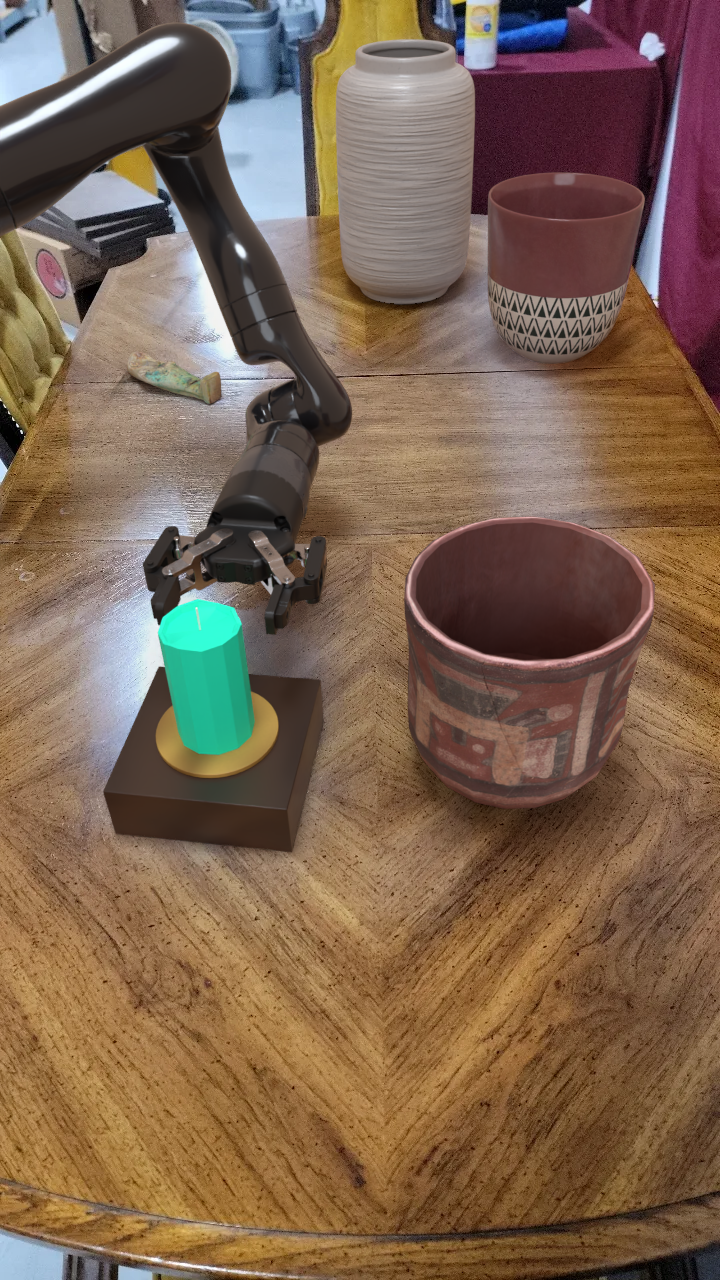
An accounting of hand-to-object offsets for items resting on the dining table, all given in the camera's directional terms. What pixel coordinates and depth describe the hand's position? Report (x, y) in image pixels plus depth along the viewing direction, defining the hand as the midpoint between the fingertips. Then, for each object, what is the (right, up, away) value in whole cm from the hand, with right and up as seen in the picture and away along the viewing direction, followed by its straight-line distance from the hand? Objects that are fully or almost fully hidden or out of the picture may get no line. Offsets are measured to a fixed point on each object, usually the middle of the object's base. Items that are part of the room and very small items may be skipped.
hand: (215, 621), depth 75 cm
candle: (0, -8, +3) cm, 9 cm away
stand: (0, -12, +6) cm, 14 cm away
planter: (+37, +39, +64) cm, 84 cm away
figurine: (-14, +33, +60) cm, 69 cm away
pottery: (+23, -11, +7) cm, 27 cm away
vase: (+18, +55, +85) cm, 103 cm away
